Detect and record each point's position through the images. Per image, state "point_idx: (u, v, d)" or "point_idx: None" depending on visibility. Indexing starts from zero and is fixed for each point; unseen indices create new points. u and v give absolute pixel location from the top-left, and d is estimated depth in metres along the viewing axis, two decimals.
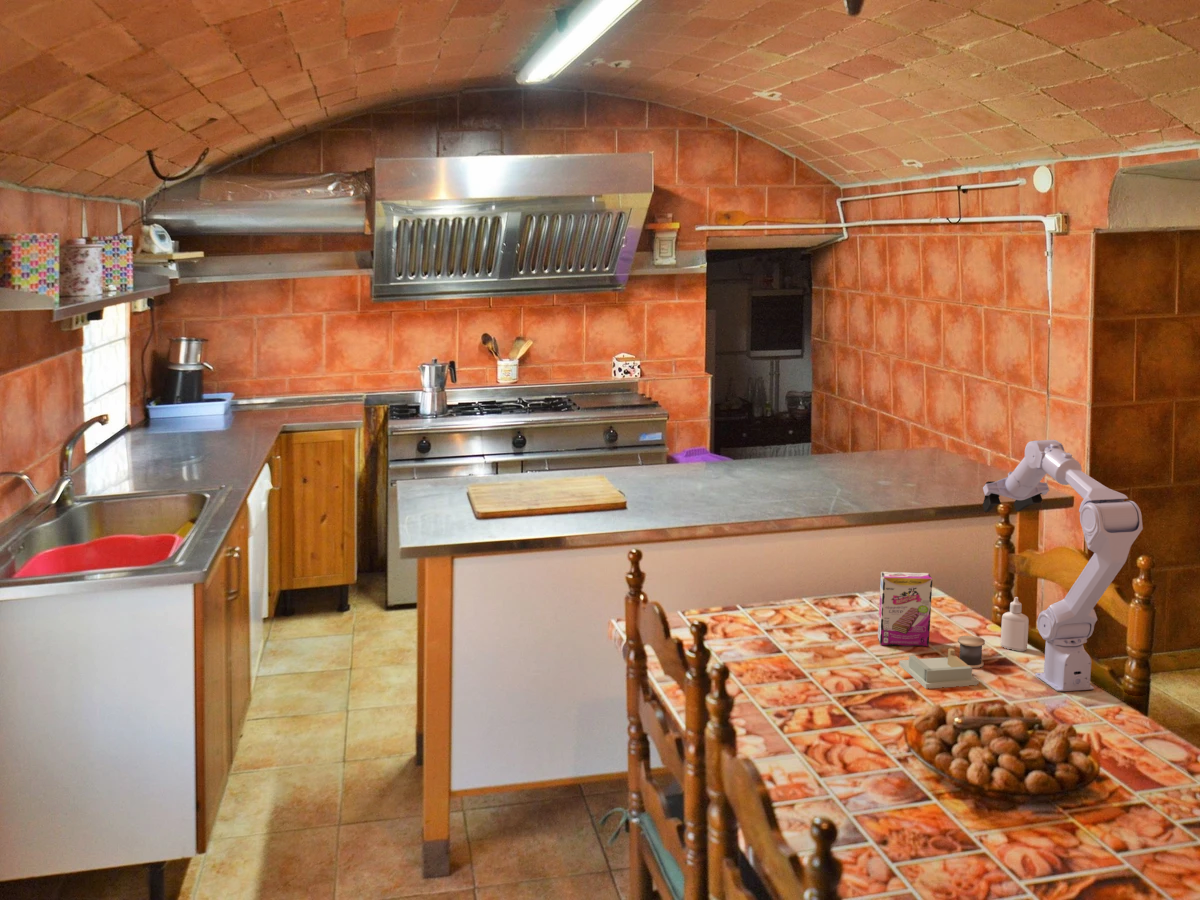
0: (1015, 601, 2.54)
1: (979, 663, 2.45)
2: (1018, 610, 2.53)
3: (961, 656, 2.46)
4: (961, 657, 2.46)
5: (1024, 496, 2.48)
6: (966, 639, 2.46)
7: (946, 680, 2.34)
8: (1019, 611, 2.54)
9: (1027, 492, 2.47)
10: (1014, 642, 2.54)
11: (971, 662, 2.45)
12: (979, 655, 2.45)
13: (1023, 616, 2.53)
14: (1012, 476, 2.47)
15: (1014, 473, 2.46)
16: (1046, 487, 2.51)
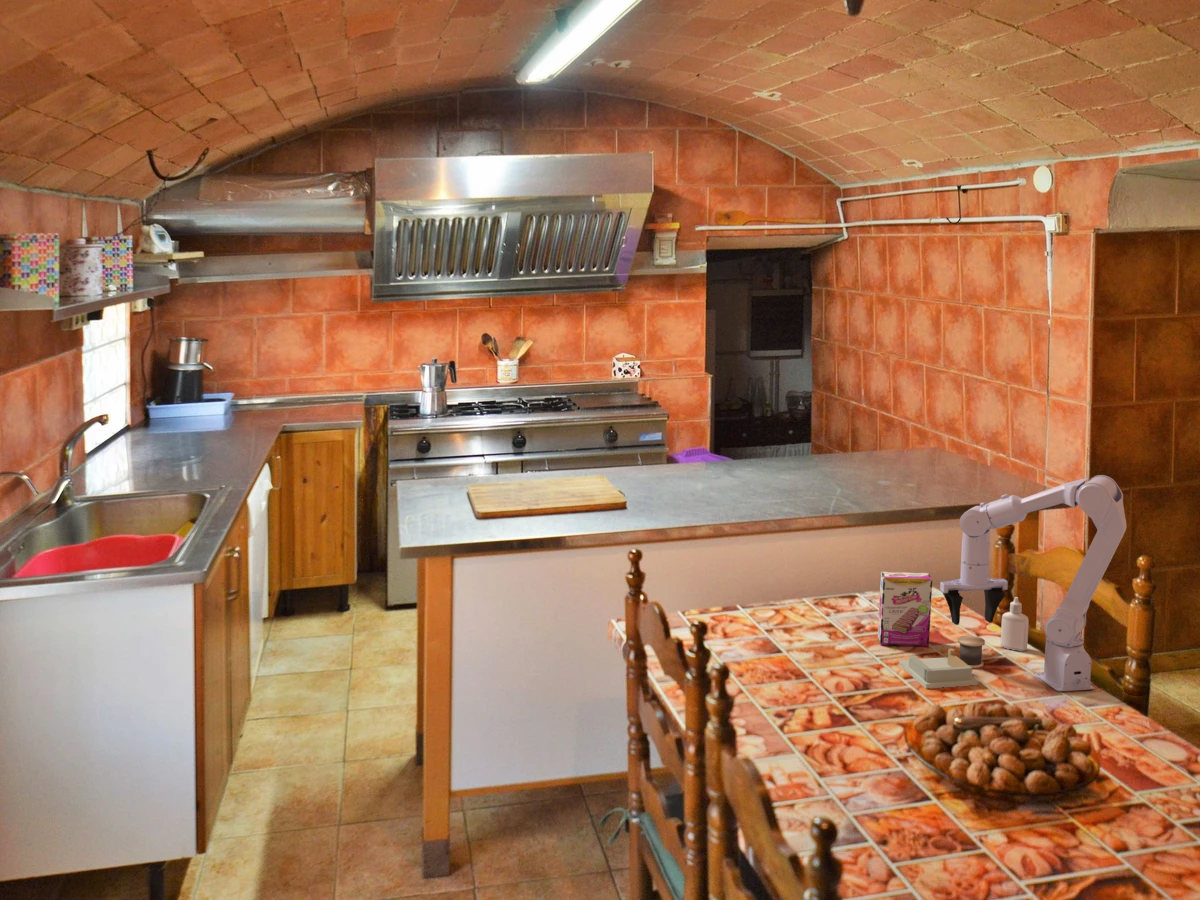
0: (1015, 601, 2.54)
1: (979, 663, 2.45)
2: (1018, 610, 2.53)
3: (961, 656, 2.46)
4: (961, 657, 2.46)
5: (982, 582, 2.41)
6: (966, 639, 2.46)
7: (946, 680, 2.34)
8: (1019, 611, 2.54)
9: (982, 575, 2.41)
10: (1014, 642, 2.54)
11: (971, 662, 2.45)
12: (979, 655, 2.45)
13: (1023, 616, 2.53)
14: (961, 565, 2.43)
15: (967, 562, 2.41)
16: (1004, 580, 2.45)
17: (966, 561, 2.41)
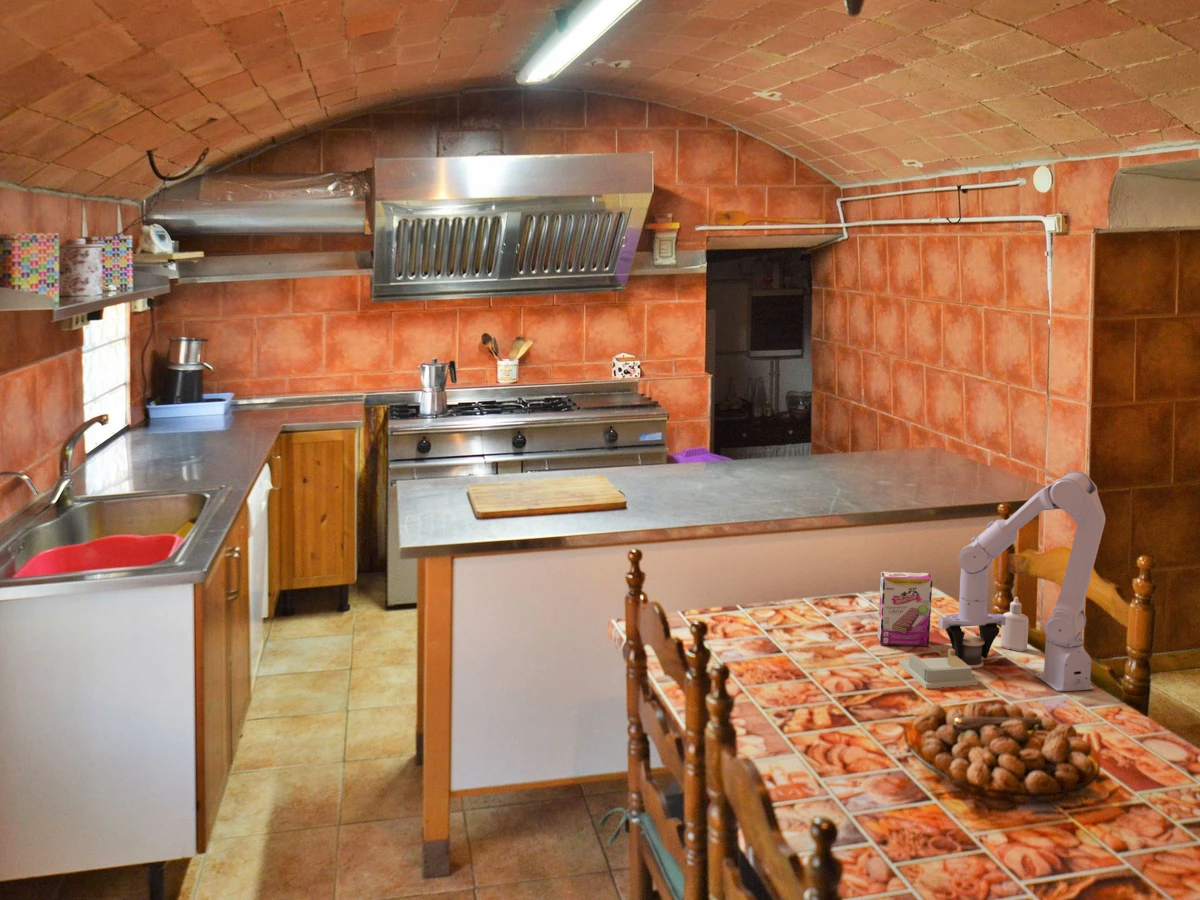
0: (1015, 601, 2.54)
1: (979, 663, 2.45)
2: (1018, 610, 2.53)
3: None
4: (961, 657, 2.46)
5: (980, 618, 2.42)
6: (966, 639, 2.46)
7: (946, 680, 2.34)
8: (1019, 611, 2.54)
9: (980, 611, 2.42)
10: (1014, 642, 2.54)
11: (971, 662, 2.45)
12: (979, 655, 2.45)
13: (1023, 616, 2.53)
14: (959, 600, 2.45)
15: (966, 598, 2.42)
16: (1002, 616, 2.46)
17: (964, 597, 2.43)
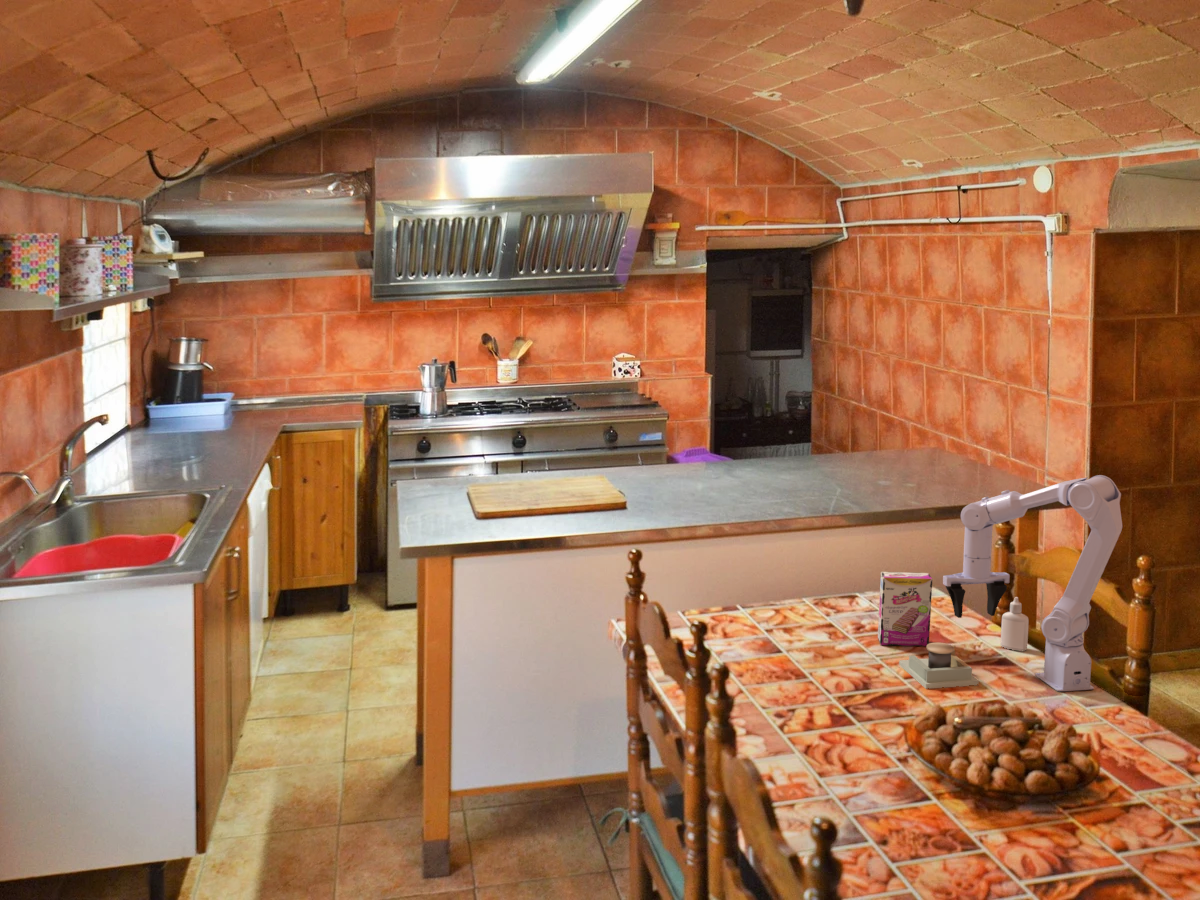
0: (1015, 601, 2.54)
1: None
2: (1018, 610, 2.53)
3: (930, 664, 2.39)
4: (930, 665, 2.39)
5: (984, 576, 2.44)
6: (935, 646, 2.39)
7: (946, 680, 2.34)
8: (1019, 611, 2.54)
9: (984, 568, 2.44)
10: (1014, 642, 2.54)
11: None
12: (948, 663, 2.37)
13: (1023, 616, 2.53)
14: (964, 558, 2.46)
15: (968, 555, 2.45)
16: (1006, 574, 2.48)
17: (967, 554, 2.45)
